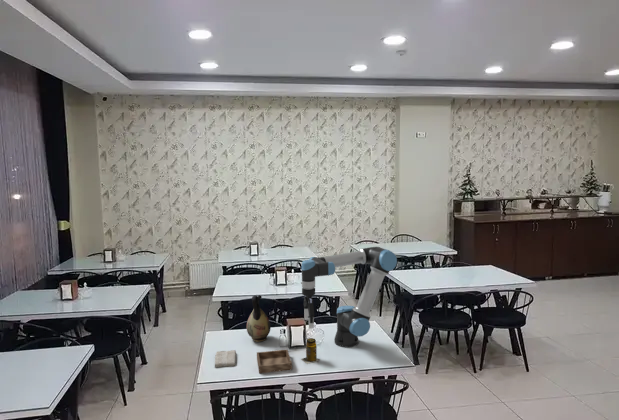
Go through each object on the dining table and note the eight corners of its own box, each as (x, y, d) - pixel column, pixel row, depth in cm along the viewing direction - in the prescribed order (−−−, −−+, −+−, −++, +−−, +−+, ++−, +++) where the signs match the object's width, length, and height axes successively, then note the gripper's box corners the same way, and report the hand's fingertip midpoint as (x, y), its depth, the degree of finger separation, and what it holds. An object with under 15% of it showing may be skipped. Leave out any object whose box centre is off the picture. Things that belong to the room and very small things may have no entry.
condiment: (319, 360, 252) (319, 340, 251) (307, 364, 248) (306, 343, 246) (312, 355, 258) (312, 336, 257) (300, 359, 254) (300, 339, 252)
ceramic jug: (250, 334, 293) (249, 290, 289) (273, 334, 290) (271, 290, 287) (243, 344, 276) (241, 298, 273) (267, 345, 274) (265, 299, 270)
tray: (287, 355, 259) (287, 349, 258) (292, 370, 241) (291, 363, 241) (256, 359, 255) (256, 352, 255) (259, 373, 238) (258, 366, 237)
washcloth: (236, 353, 265) (235, 348, 264) (236, 366, 247) (235, 361, 247) (215, 355, 263) (215, 350, 262) (214, 368, 245) (214, 363, 245)
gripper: (298, 282, 260) (298, 316, 262) (305, 294, 235) (306, 332, 238) (310, 281, 261) (311, 315, 263) (319, 293, 237) (319, 331, 239)
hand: (309, 323), depth 250 cm, fingers open, 13 cm apart
